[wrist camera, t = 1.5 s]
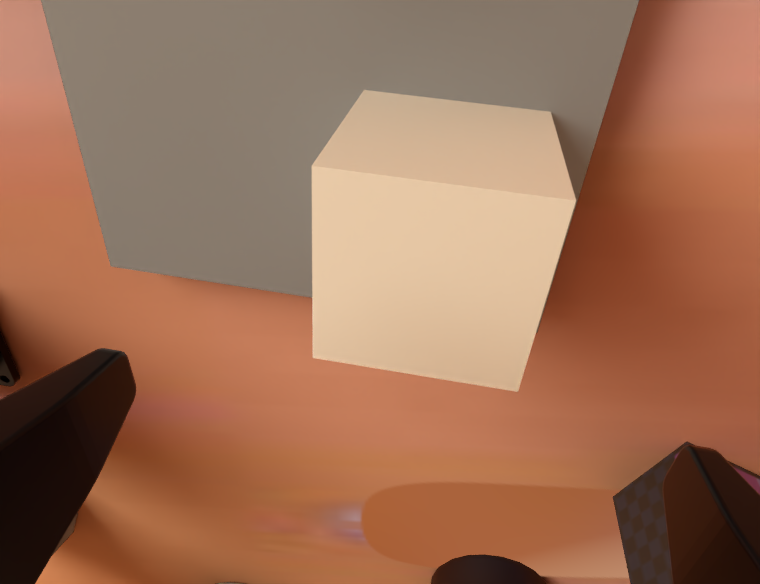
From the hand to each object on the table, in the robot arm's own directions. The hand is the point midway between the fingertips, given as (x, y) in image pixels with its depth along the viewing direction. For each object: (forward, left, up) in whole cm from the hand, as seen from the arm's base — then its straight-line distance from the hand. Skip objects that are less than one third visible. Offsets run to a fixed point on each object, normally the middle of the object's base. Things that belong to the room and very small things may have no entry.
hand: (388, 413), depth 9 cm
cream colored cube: (0, 0, -10) cm, 10 cm away
